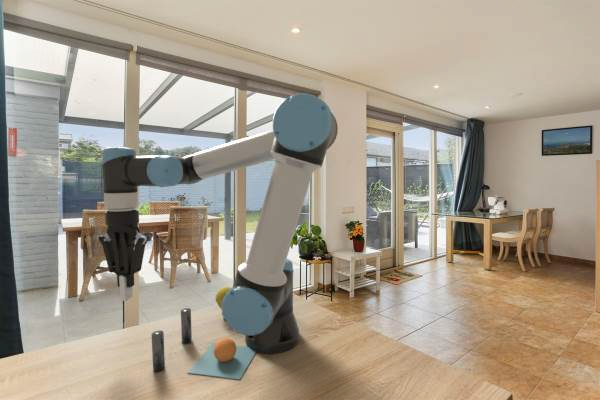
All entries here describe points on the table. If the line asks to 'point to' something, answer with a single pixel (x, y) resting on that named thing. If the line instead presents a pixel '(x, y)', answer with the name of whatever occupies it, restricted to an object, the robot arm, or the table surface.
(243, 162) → the robot arm
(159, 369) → the left post
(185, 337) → the right post
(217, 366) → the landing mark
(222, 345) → the ball
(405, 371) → the table surface
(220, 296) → the light bulb
